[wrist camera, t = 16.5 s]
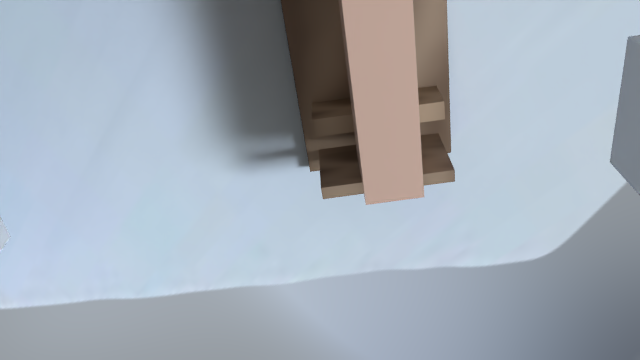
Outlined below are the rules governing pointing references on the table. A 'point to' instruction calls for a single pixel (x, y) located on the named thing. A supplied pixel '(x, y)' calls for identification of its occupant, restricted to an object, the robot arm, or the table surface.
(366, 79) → the pinkish tan block
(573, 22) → the table surface
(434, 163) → the rack
